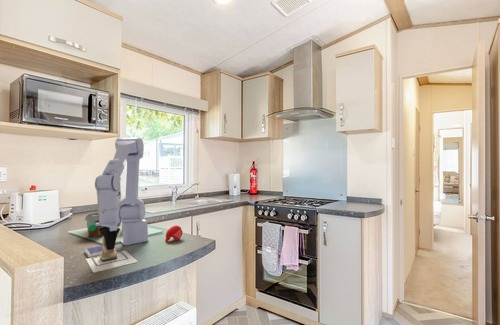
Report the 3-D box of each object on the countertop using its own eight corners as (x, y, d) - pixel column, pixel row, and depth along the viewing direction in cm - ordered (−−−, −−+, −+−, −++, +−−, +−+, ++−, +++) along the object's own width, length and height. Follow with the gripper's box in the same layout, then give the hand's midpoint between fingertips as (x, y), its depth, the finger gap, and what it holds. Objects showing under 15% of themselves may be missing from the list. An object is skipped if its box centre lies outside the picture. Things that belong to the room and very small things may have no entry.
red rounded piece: (178, 229, 122) (166, 224, 119) (185, 226, 118) (173, 221, 115) (172, 247, 117) (160, 242, 114) (180, 244, 113) (167, 239, 110)
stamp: (114, 255, 97) (113, 233, 97) (117, 258, 94) (116, 235, 94) (100, 258, 95) (99, 235, 95) (102, 262, 91) (101, 238, 91)
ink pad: (111, 247, 109) (111, 243, 109) (116, 252, 102) (116, 248, 102) (84, 252, 103) (84, 248, 103) (88, 258, 96) (88, 254, 96)
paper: (125, 251, 103) (125, 250, 103) (137, 262, 91) (137, 261, 91) (85, 259, 95) (85, 258, 95) (93, 272, 83) (93, 271, 83)
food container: (83, 235, 130) (82, 214, 130) (97, 232, 134) (97, 212, 134) (88, 240, 120) (87, 217, 121) (103, 237, 124) (103, 215, 125)
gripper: (91, 208, 98) (92, 246, 98) (99, 213, 86) (100, 256, 86) (113, 205, 102) (114, 242, 102) (123, 210, 91) (124, 251, 91)
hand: (109, 248), depth 94 cm, fingers closed on stamp, 3 cm apart
